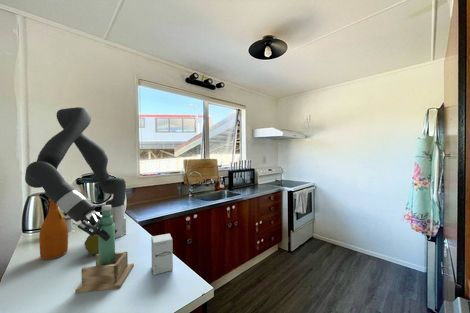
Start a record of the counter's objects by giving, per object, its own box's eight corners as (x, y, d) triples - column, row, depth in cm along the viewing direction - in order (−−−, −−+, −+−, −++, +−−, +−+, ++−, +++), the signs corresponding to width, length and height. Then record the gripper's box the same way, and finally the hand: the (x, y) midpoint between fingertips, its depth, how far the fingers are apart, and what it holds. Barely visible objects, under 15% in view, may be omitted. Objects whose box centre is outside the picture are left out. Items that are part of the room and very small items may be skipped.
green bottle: (111, 257, 78) (110, 203, 78) (117, 260, 76) (117, 205, 76) (96, 263, 74) (95, 206, 74) (102, 267, 71) (102, 208, 71)
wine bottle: (51, 261, 87) (50, 193, 87) (33, 259, 89) (32, 192, 89) (73, 251, 97) (72, 189, 97) (57, 249, 99) (56, 188, 98)
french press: (65, 236, 115) (65, 192, 115) (45, 236, 115) (45, 193, 115) (79, 229, 125) (78, 189, 125) (60, 230, 125) (60, 190, 125)
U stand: (133, 265, 83) (133, 249, 83) (120, 287, 69) (120, 267, 69) (96, 269, 81) (96, 252, 81) (75, 292, 67) (74, 272, 67)
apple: (107, 246, 102) (107, 224, 102) (112, 252, 95) (112, 229, 95) (83, 253, 95) (83, 230, 94) (86, 260, 88) (86, 235, 88)
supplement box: (153, 276, 76) (152, 242, 76) (151, 266, 82) (151, 236, 82) (173, 270, 79) (172, 238, 79) (170, 261, 86) (169, 232, 86)
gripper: (71, 202, 67) (111, 235, 69) (94, 194, 81) (126, 222, 83) (53, 219, 66) (94, 252, 68) (80, 208, 80) (113, 235, 82)
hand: (112, 235), depth 75 cm, fingers closed on green bottle, 5 cm apart
